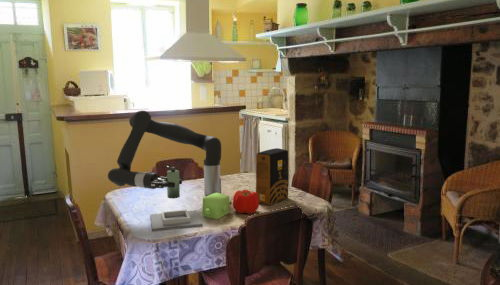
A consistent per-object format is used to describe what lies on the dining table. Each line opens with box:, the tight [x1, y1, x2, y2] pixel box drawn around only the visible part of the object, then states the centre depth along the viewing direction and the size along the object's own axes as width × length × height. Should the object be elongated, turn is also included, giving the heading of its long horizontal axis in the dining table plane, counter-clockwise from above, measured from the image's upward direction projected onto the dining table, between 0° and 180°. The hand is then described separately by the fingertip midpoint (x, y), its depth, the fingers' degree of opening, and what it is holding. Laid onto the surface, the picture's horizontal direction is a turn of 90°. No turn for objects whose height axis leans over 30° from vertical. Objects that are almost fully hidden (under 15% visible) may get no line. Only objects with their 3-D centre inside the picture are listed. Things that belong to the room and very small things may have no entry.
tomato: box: [232, 189, 260, 215], centre depth 200 cm, size 14×13×10 cm
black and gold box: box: [255, 147, 289, 206], centre depth 218 cm, size 11×19×28 cm, turn 142°
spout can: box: [165, 165, 181, 199], centre depth 187 cm, size 6×6×15 cm
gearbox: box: [202, 192, 233, 220], centre depth 195 cm, size 18×10×10 cm, turn 147°
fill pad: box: [149, 209, 203, 232], centre depth 189 cm, size 22×20×3 cm
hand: (178, 183), depth 186 cm, fingers closed on spout can, 5 cm apart
